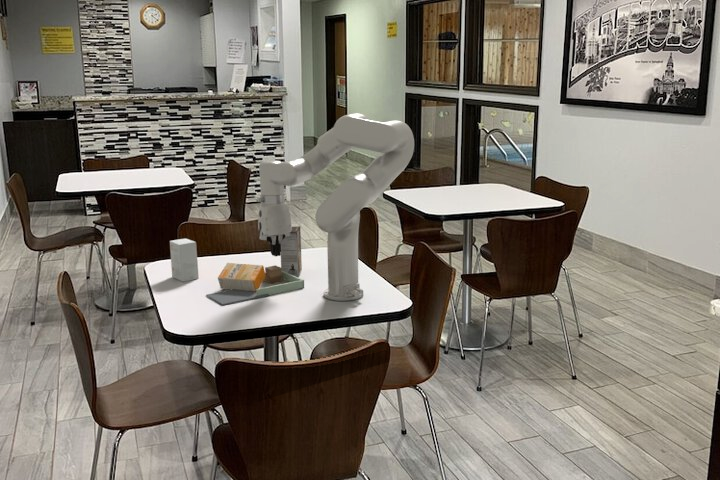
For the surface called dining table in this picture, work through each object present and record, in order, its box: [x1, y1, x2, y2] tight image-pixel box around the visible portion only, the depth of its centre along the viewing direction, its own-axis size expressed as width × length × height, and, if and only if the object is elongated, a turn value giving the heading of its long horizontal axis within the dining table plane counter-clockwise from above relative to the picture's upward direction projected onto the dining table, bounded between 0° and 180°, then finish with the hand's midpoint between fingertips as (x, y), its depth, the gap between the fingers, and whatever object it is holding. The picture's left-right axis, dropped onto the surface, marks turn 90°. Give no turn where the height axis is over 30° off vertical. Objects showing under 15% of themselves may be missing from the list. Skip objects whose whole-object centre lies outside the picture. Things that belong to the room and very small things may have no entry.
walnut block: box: [264, 265, 283, 285], centre depth 241 cm, size 4×4×5 cm
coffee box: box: [280, 225, 303, 278], centre depth 249 cm, size 9×6×16 cm
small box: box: [169, 237, 199, 283], centre depth 246 cm, size 8×6×13 cm
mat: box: [205, 289, 270, 306], centre depth 226 cm, size 12×16×1 cm
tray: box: [256, 271, 305, 296], centre depth 235 cm, size 15×17×2 cm
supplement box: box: [217, 262, 266, 291], centre depth 233 cm, size 8×5×13 cm
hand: (276, 255), depth 231 cm, fingers closed
